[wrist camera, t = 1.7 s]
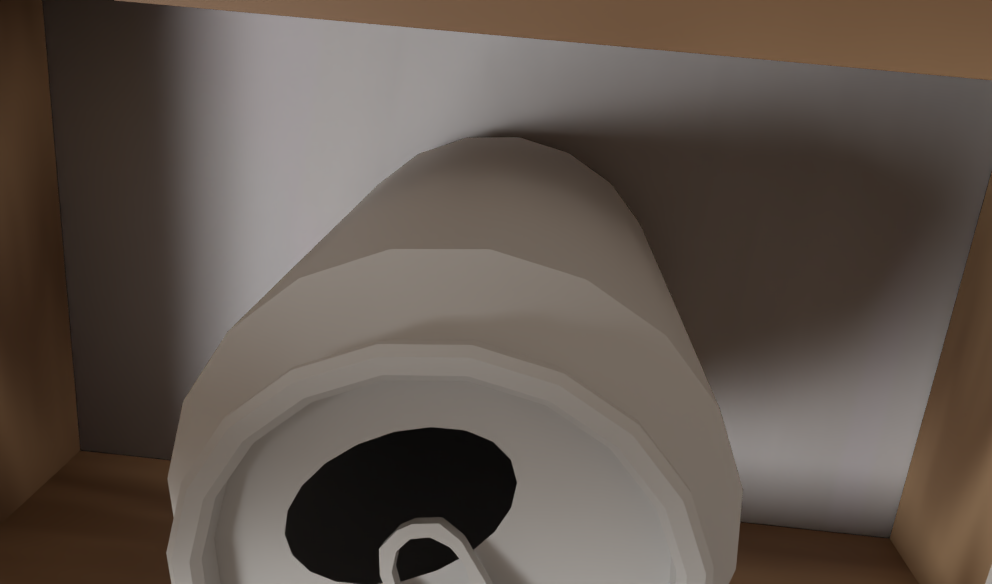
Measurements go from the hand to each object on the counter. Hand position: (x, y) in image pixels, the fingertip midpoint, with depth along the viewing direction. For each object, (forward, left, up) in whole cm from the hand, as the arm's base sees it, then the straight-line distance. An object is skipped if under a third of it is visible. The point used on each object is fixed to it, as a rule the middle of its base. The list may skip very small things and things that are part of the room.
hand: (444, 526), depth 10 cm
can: (0, 0, -11) cm, 11 cm away
